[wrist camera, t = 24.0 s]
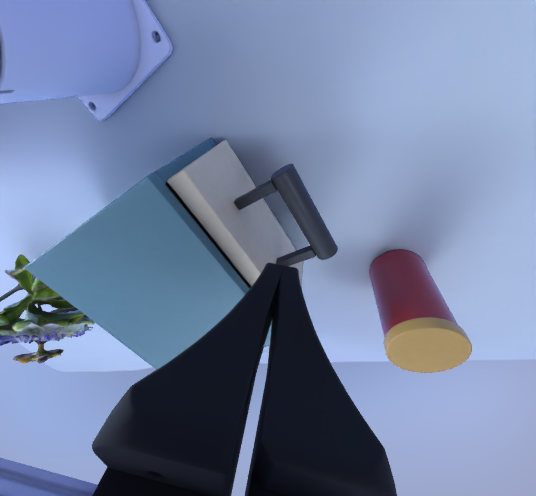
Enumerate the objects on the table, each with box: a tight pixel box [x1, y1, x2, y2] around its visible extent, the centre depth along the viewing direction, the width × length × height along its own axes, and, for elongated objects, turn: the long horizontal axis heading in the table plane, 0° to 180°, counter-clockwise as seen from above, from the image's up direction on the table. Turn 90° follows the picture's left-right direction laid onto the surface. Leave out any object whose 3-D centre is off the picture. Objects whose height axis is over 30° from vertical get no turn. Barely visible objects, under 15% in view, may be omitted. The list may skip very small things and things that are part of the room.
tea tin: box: [369, 250, 472, 373], centre depth 19 cm, size 5×5×8 cm
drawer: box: [167, 140, 338, 288], centre depth 19 cm, size 16×12×7 cm
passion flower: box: [0, 255, 95, 363], centre depth 28 cm, size 11×11×12 cm
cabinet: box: [24, 138, 272, 369], centre depth 20 cm, size 13×13×8 cm
